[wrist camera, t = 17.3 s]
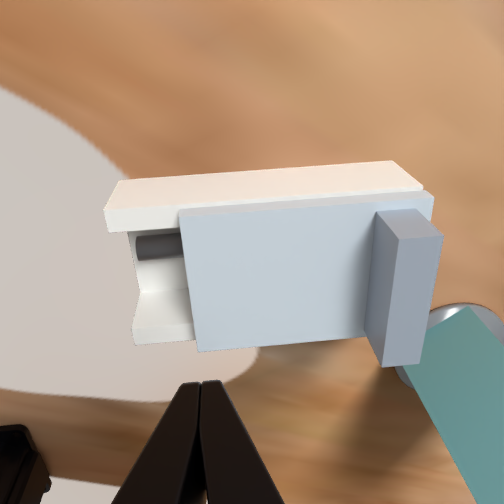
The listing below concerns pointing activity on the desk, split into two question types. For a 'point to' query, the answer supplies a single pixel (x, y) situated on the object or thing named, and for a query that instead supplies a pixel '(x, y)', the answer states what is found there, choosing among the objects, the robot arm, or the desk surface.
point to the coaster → (441, 313)
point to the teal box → (466, 398)
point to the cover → (314, 272)
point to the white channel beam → (206, 195)
